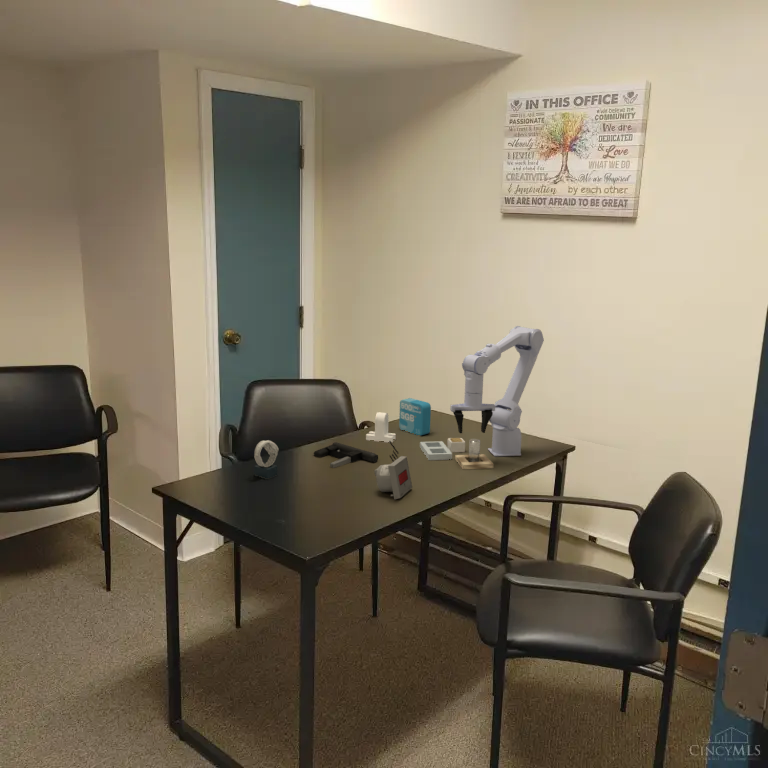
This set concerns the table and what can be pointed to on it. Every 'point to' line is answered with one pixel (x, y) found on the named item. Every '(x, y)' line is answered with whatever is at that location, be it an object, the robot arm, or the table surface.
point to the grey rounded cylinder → (474, 450)
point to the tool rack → (436, 450)
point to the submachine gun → (345, 454)
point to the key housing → (456, 446)
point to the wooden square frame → (482, 463)
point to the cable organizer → (381, 429)
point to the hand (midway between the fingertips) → (471, 432)
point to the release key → (456, 440)
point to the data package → (415, 416)
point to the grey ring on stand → (267, 468)
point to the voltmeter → (394, 476)
